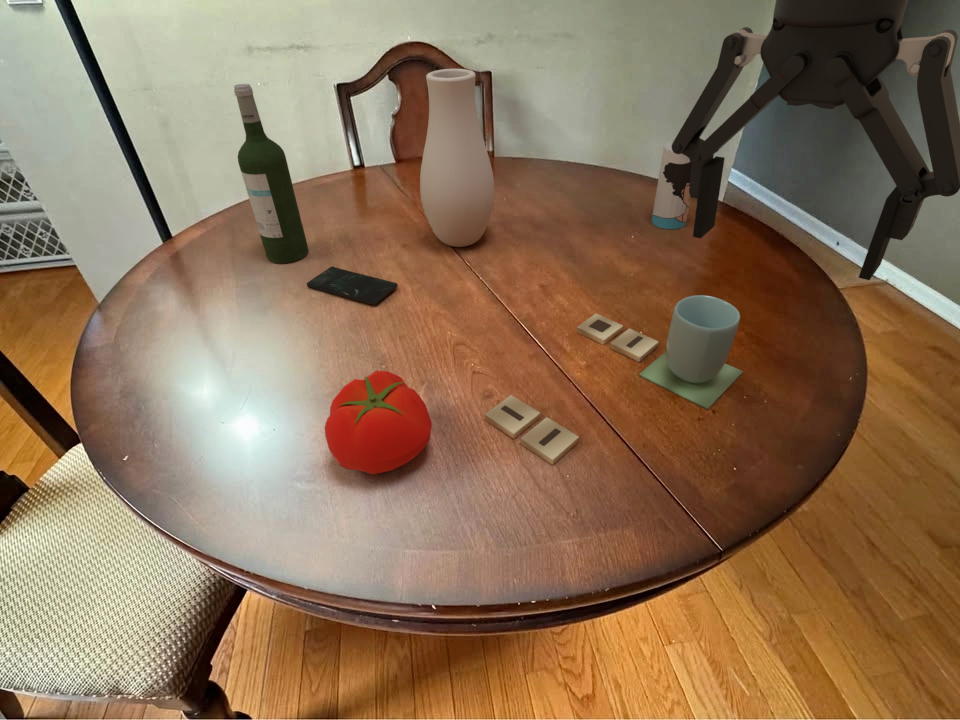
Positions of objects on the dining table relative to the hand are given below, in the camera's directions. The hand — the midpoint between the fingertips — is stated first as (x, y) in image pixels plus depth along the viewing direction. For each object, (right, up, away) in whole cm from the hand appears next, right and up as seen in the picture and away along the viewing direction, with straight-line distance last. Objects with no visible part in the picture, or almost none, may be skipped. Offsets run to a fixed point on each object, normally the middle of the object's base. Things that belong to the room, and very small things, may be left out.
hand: (779, 250), depth 48 cm
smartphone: (-48, +3, +49) cm, 69 cm away
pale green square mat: (-1, -9, +32) cm, 33 cm away
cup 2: (+3, -11, +28) cm, 30 cm away
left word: (-20, -18, +21) cm, 34 cm away
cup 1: (+13, +19, +66) cm, 70 cm away
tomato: (-37, -20, +20) cm, 47 cm away
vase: (-30, +14, +62) cm, 70 cm away
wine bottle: (-63, +11, +60) cm, 87 cm away
